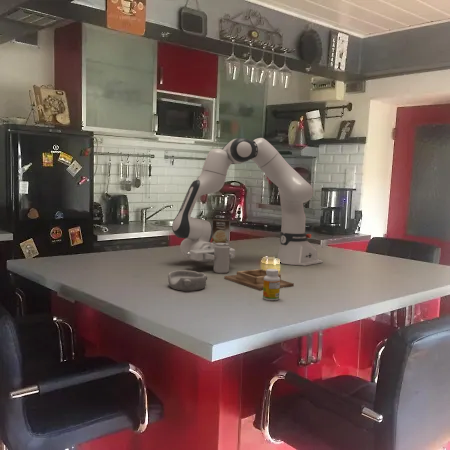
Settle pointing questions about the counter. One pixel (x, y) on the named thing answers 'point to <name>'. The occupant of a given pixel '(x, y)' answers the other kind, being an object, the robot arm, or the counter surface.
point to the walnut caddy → (254, 279)
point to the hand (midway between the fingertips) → (223, 256)
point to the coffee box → (221, 231)
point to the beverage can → (221, 257)
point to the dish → (187, 280)
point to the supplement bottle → (271, 285)
